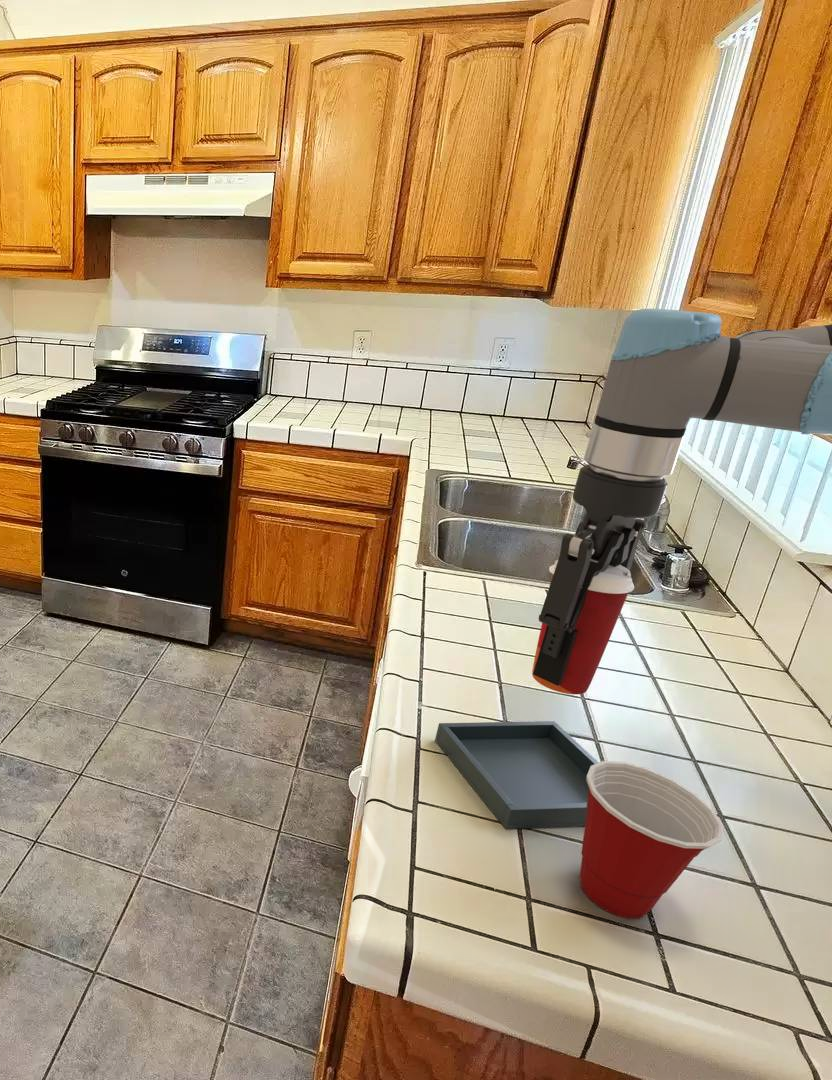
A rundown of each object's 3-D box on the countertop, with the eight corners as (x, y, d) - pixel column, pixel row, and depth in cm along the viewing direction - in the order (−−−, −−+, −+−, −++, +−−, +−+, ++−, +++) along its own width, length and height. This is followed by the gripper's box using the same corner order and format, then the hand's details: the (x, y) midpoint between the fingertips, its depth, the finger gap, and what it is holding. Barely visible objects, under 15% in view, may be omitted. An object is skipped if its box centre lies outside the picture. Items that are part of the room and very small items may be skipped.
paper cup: (600, 677, 85) (638, 564, 80) (597, 708, 79) (638, 588, 74) (524, 655, 89) (555, 546, 84) (515, 683, 83) (549, 567, 78)
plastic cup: (691, 964, 66) (739, 859, 62) (553, 911, 71) (588, 810, 67) (675, 881, 75) (716, 784, 71) (553, 839, 80) (585, 745, 76)
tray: (638, 824, 83) (645, 805, 82) (505, 829, 81) (511, 810, 80) (549, 737, 97) (554, 720, 96) (434, 740, 96) (438, 722, 95)
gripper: (625, 451, 83) (569, 634, 92) (538, 473, 73) (483, 678, 81) (704, 468, 78) (636, 662, 86) (623, 495, 67) (554, 713, 76)
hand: (562, 669), depth 84 cm, fingers closed on paper cup, 6 cm apart
